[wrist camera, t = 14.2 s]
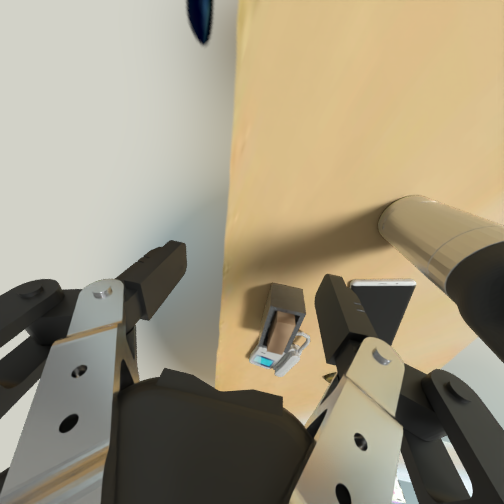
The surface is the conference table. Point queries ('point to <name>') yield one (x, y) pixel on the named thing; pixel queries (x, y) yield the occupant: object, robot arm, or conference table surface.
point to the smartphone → (384, 303)
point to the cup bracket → (282, 310)
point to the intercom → (278, 357)
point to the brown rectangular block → (280, 332)
